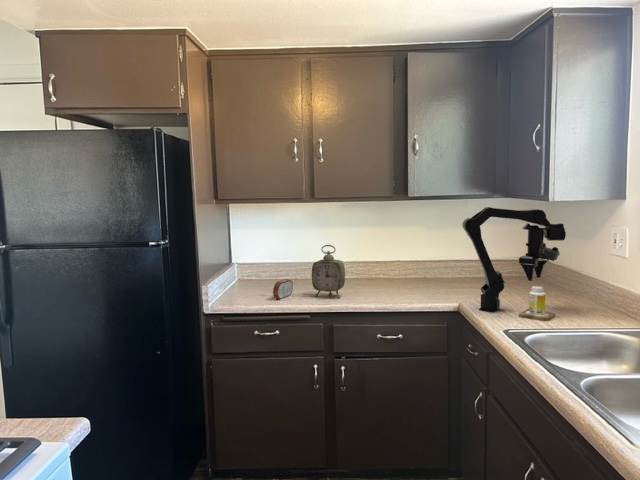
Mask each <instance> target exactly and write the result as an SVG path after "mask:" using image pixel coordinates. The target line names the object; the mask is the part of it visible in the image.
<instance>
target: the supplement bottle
mask: <svg viewBox="0 0 640 480" xmlns="http://www.w3.org/2000/svg"><path fill="white" fill-rule="evenodd" d="M528 297H529V299H528V300H529V301H528V302H529V303H528V304H529V306H528V307H529V308H528V309H529V312H530V313H532V314H538V315H541V314H544V313H545V311H546V293H545V292H544V287H543V286H540V285H532V287H531V291H529V295H528Z"/></svg>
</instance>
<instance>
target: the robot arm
mask: <svg viewBox="0 0 640 480" xmlns="http://www.w3.org/2000/svg"><path fill="white" fill-rule="evenodd" d="M490 218H498V219H499V218H500V219H510V220H512V219H513V220H518V221H519V220H520V221H523V222H526V224H525V225H524V226H522V229H523V230H527V242H526V243H525V247H527V250H526V251H527V252H526V253H525V255H522V256H520V257H518V264H519V265H520V266H521V268H522V270H523V272H524V274H525V276H526V278H527V280H528V281H529V282H532V281H533V278H534V277H533V276H534V272H535V276H536V278H541V277H542V273H543V270H544V267H545V265H546V264H547V263H549V262H550V261H553V262H554V261H557V259H558V257H559V256H560V254H561V253H560V251H559V248H558V247H556V246H553V247H552V248H551V247H547V243H546V242H544V241H545V240H544V239H546V240H547V241H548V242H549V241H552V242H553V241H555V242H556V241H560V242H562V241H565V240H566V236H567V234H566V233H567V232H566V230H565V227H564V223H562V222H561V223H550V220H549V219H548V218H547V215H546V213H545V211H544V210H542V209H538V208H537V209H535V208H530V209H521V210H520V209H519V210H516V209H508V208H497V207H491V206H485V207H484V208H482V210H480V211H479V212H478V213H477V212H476V213H475V214H474V215H473V216H471V217H467V218H465V219H464V220H463V222H462V229H463V230H464V232H465V233H466V234H467V236H468V237H469V239H470V240H471V243H472V245H473V247H474V250H475V252H476V254H477V257H478V259H479V262H480V264H481V265H480V266H481V267H482V269H483V272H484V281H485V283H484V285H482V287H480V291H481V293H482V294H480V307H479V308H478V310H479V311H483V312H484V311H485V312H490V313H496V312H497V311H500V310H501V299H499V297H500V296H499V295H500V294H501V292H502V291H504V289H505V283H506V282H505V281H504V278H503V275H502V273H501V272H500V271H499V270H497V271H496V270H495V268H494V265H493V263H492V261H491V258H490V255H489V253H488V251H487V248H486V246H485V243H484V240H483V238H482V229H481V226H482V225H484V223H485V222H487V220H489V219H490ZM532 224H534V225H532ZM539 226H541V227H539Z"/></svg>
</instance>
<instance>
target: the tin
mask: <svg viewBox="0 0 640 480" xmlns="http://www.w3.org/2000/svg"><path fill="white" fill-rule="evenodd" d="M293 287H294V283H293V281H292V280H291V279H287V278H284V279H282V280H278V281H276V282H275V284H274V286H273V289H272V294H273V298H274V299H276V300H283V299H285V298H287V297H290V296H291V295H292V293H293Z"/></svg>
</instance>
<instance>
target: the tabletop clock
mask: <svg viewBox="0 0 640 480" xmlns="http://www.w3.org/2000/svg"><path fill="white" fill-rule="evenodd" d="M325 247H331V248H333V249H334V251H332V252H330V250H327V252H326V251H323V249H324V248H325ZM320 250H321V253H323V254H325V255H324V256H323V258H322V259H320V260H317V261H315V262H313V263H312V268H311V282H312V287H313V290H316V291H318V292H317V293H316V294H315V297H316V298H318V297H319V294H320V293H321V292H326V293H327V292H329V293H328V296H329V297H331V296H332V295H333V293H332V292H335V293H336V295H337V296H336V298H337V299H341V295H340V294H339V290H341V289H342V288H343V287H344V286H345V282H346V269H345V263H344V262H343V261H342V260H341V259H335V258H334V255H332V254H334V253H335V252H336V247H335V246H334V245H332V244H325V245H322V247H321V249H320Z"/></svg>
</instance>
